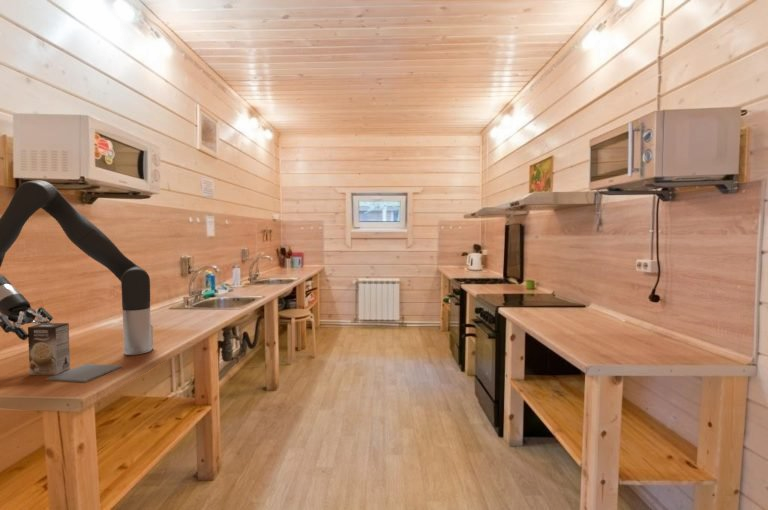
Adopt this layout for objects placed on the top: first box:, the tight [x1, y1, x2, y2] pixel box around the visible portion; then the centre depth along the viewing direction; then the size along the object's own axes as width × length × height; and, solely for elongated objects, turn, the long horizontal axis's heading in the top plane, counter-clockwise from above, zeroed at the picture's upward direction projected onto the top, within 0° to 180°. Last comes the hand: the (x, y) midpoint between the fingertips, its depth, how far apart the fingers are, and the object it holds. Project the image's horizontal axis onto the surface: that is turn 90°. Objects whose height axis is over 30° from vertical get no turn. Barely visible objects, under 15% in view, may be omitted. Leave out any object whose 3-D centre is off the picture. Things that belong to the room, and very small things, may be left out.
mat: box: [46, 363, 122, 383], centre depth 130 cm, size 14×14×1 cm
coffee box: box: [27, 322, 71, 376], centre depth 132 cm, size 9×6×16 cm
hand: (39, 335), depth 132 cm, fingers open, 8 cm apart
